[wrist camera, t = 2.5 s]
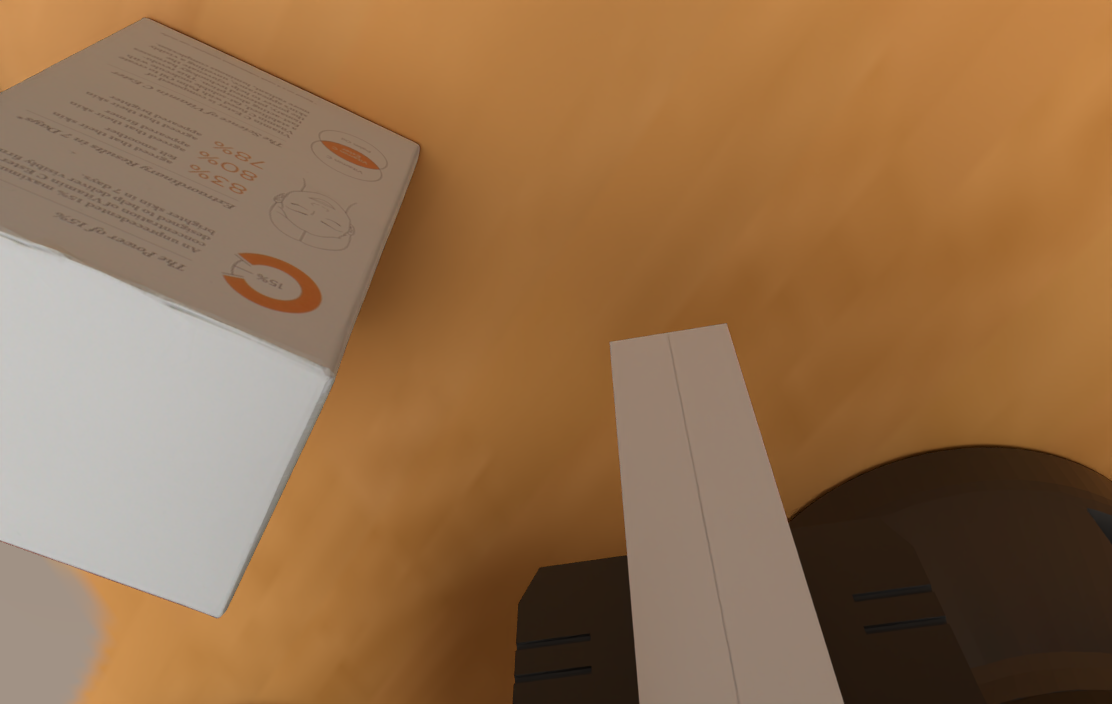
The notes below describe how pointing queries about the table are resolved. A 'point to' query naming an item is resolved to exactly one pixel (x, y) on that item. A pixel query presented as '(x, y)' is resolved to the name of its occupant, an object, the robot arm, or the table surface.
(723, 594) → the robot arm
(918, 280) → the table surface
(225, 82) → the small box
